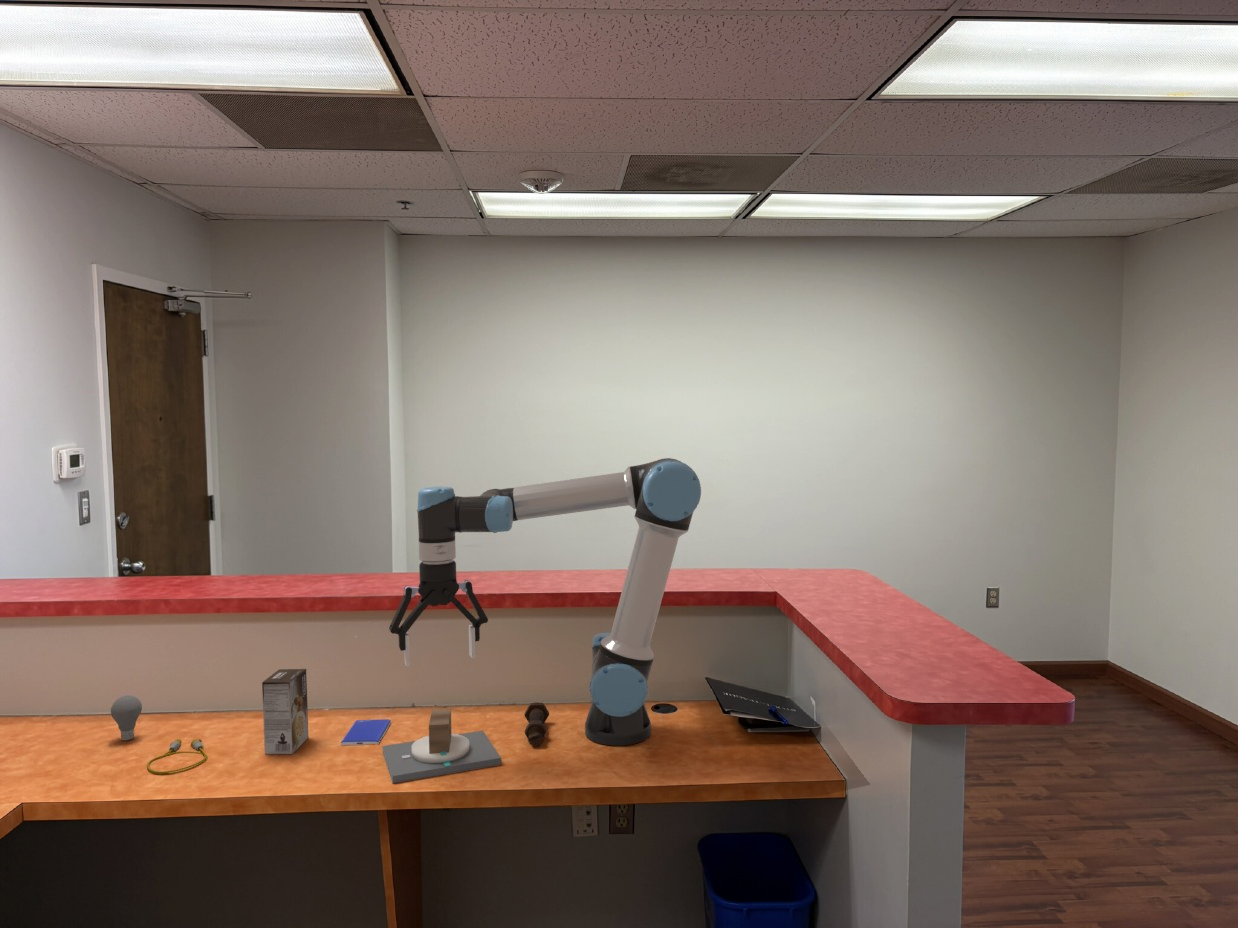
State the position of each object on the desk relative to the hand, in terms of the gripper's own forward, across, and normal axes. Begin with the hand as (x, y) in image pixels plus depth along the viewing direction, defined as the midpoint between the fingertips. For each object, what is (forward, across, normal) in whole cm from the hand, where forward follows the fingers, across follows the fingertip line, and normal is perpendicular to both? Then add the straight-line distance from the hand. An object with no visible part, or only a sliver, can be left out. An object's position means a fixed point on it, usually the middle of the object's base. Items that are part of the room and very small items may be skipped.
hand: (440, 660), depth 172 cm
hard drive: (+22, -14, +20) cm, 33 cm away
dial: (+19, 0, 0) cm, 20 cm away
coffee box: (+21, -30, +20) cm, 42 cm away
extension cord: (+21, -51, +22) cm, 60 cm away
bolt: (+22, +22, +5) cm, 31 cm away
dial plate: (+21, 0, 0) cm, 21 cm away
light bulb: (+20, -64, +38) cm, 77 cm away
